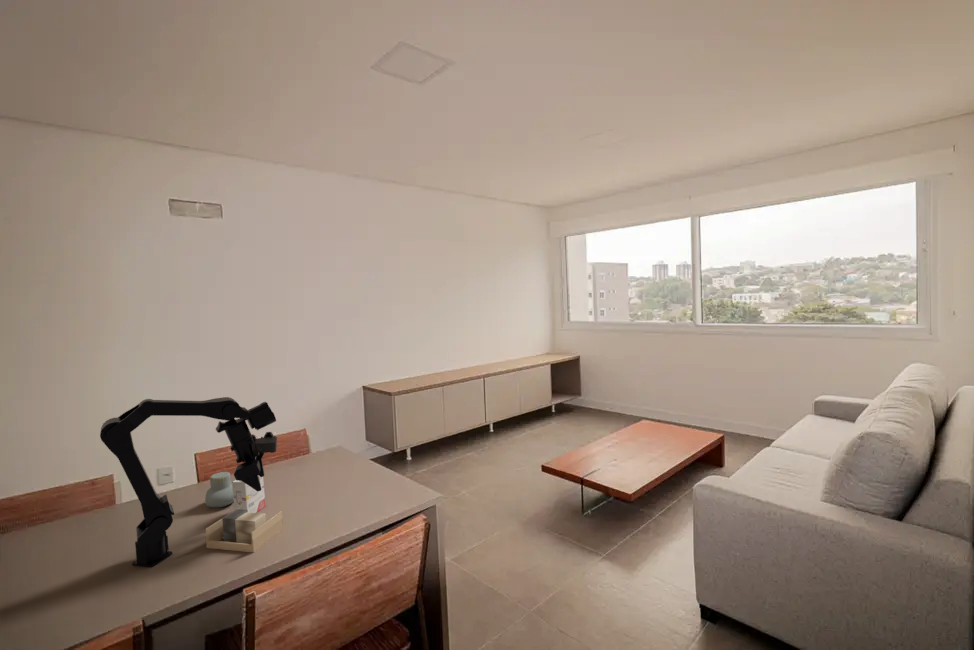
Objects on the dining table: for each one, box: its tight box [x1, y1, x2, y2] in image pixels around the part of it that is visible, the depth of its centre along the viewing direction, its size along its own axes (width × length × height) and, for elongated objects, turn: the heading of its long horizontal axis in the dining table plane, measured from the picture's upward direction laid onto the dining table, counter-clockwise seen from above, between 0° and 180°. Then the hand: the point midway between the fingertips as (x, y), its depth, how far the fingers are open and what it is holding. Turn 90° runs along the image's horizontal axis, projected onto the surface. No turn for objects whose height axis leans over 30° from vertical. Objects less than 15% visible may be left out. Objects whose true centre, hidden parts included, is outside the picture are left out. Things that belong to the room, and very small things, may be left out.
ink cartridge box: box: [231, 475, 266, 513], centre depth 148 cm, size 9×5×15 cm, turn 168°
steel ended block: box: [221, 509, 267, 544], centre depth 132 cm, size 10×6×7 cm, turn 78°
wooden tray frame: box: [205, 508, 285, 553], centre depth 132 cm, size 13×15×6 cm
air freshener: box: [204, 471, 234, 509], centre depth 155 cm, size 11×8×10 cm
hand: (261, 483), depth 139 cm, fingers open, 9 cm apart
